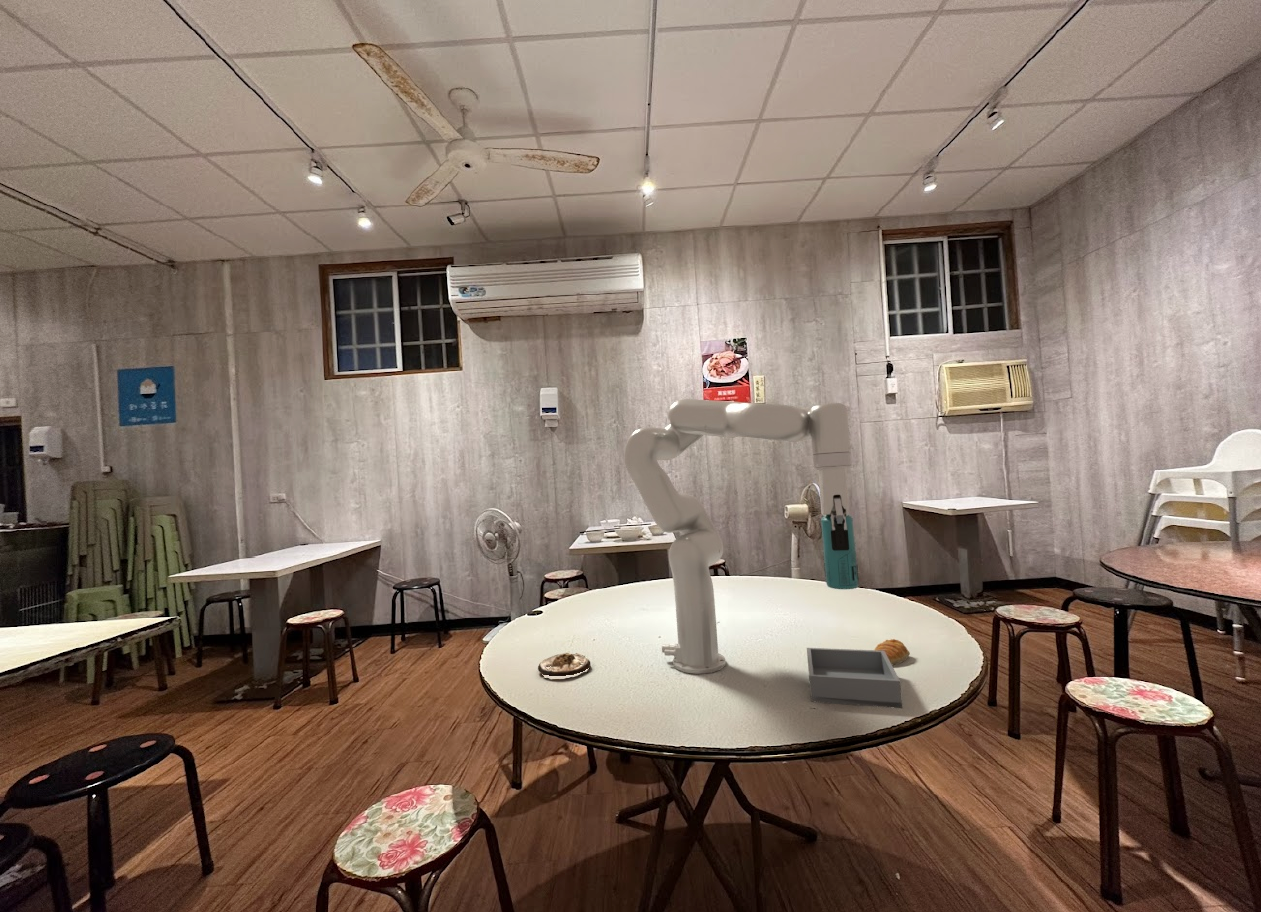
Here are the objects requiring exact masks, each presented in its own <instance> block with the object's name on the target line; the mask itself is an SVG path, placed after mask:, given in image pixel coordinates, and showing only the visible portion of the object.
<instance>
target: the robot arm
mask: <svg viewBox="0 0 1261 912" xmlns="http://www.w3.org/2000/svg"><path fill="white" fill-rule="evenodd" d="M848 414H849V413H848V408H847V406H846V405H845V404H844V403H842V402H841V403H840V402H828V403H827V402H826V403H821V404H816V405H813V406H812V407H811V408H799V407H795V406H792V405H789V404H776V403H774V404H773V403H759V402H757V403H756V402H740V401H732V400H731V401H729V400H728V401H727V400H714V399H713V400H711V399H710V400H709V399H694V398H683V399H678V400H677V401H675V402H673V403H672V404H671V405H670V407H669V409H668V413H667V419H668V422H669V425H667V426H666V427H664V428H661V427H656V426H655V427H653V426H647V427H646V426H645V427H641V428H639V429H636V430H635V431H633V432H632V433H631V434H630V436H629V437H628V439H627V441H626V444H625V447H624V453H623V454H624V455H623V457H624V458H623V459H624V463H625V467H626V470H627V472H628V474H629V477H630V479H632V481H633V483H634V485H635V487H636V488H637V490H638V492H639V494H640V496H641V498H642V500H643V502H644V504H645V506H646V507H647V509H648V510H647V511H649V513H650V515H651V517H652V519H653V520H654V522H655V525H656V526H657V528H659V530H661V532H664V533H667V534H672V533H677V532H679V533H680V535H679V536H678V537H677V538H675V539H674V540H673V542H672V543H671V545H670V547H669V550H668V560H669V561H668V563H669V566H670V570H671V575H672V581H673V588H674V589H673V590H674V602H675V615H676V616H675V617H676V629H677V643H674V645H670V644H662V645H661V652H662V654H664V656H665V657H666V656H668V657H670V656H672V657H673V660H672V663H673V667H674V668H675V669H676V670H678V671H680V672H683V673H686V674H687V673H688V674H694V675H695V674H696V675H697V674H698V675H699V674H701V675H702V674H711V673H714V672H717V671H719V670H721V669H723V668H724V667H725V666H726V657H725V656H724V655H722V653H719V645H718V643H719V642H718V630H717V628H718V627H717V617H716V615H717V614H716V604H715V603H716V602H715V591H714V590H715V589H714V583H713V579H712V576H711V573H710V567H711V566H713V565H715V564H717V562H719V561H720V560H721V558H722V556H723V553H724V543H723V540H722V538H721V535H720V533H719V531H718V530H717V528H716V526H715V524H714V523H713V520H711V517H710V516H709V514H708V513H707V511H706V508H705V507H704V505H703V504H702V502H701V501H700V500H699V499H698V498H697V497H695V496H694V495H692V494H689V493H685V492H681V493H679V492H678V490H677V489H676V487H675V486H674V484H673V482H672V480H671V478H670V477H669V475H668V473H667V472H666V471H665V470H664V469H663V467H661V465H660V464H659V461H670V460H673V459H675V458H677V457H678V456H680V455H681V454H683V453H684V452H685V451H686V450H688V449H689V448H690V447H691V446H693V445H694V444H696V443H697V442H698V441H699V440H700V439H702V437H704V436H710V437H720V438H721V437H722V438H729V439H734V438H735V439H736V438H740V437H741V438H753V439H762V440H763V439H764V440H771V441H781V442H789V443H797V442H799V443H800V442H804V441H807V440H811V451H812V465H813V470H814V471H818V485H819V499H820V513H821V515H822V517H823V516H824V517H827V515H828V514H830V516H831V517H830V518H831V525H832V530H831V542H832V549H833V550H834V551H839V550H849V538H848V530H847V525H846V516H847V515H849V516H850V508H849V505H850V503H849V488H848V487H849V485H848V475H847V469H852V468H853V463H852V450H851V439H850V428H849V426H850V425H849V415H848ZM833 500H834V502H833ZM833 514H836V515H833ZM845 514H846V516H845ZM834 523H835V524H834Z"/></svg>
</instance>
